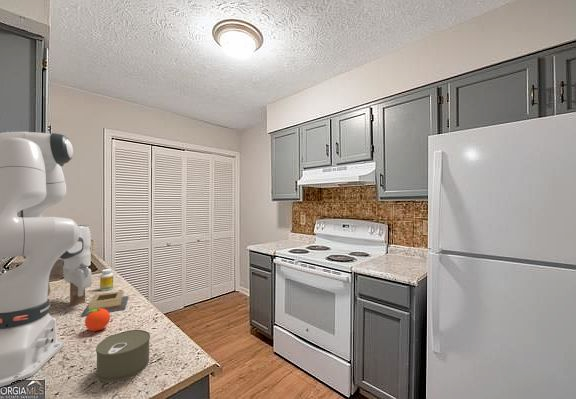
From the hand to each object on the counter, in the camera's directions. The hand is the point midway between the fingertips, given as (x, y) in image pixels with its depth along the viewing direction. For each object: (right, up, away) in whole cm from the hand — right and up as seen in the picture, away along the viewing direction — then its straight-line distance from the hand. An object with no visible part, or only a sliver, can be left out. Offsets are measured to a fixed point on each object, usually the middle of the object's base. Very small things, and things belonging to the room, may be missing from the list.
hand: (77, 294), depth 110 cm
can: (+47, -4, -42) cm, 64 cm away
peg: (0, -4, 0) cm, 4 cm away
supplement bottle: (0, -4, +18) cm, 18 cm away
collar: (+15, -4, -3) cm, 16 cm away
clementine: (+25, -4, -23) cm, 34 cm away
